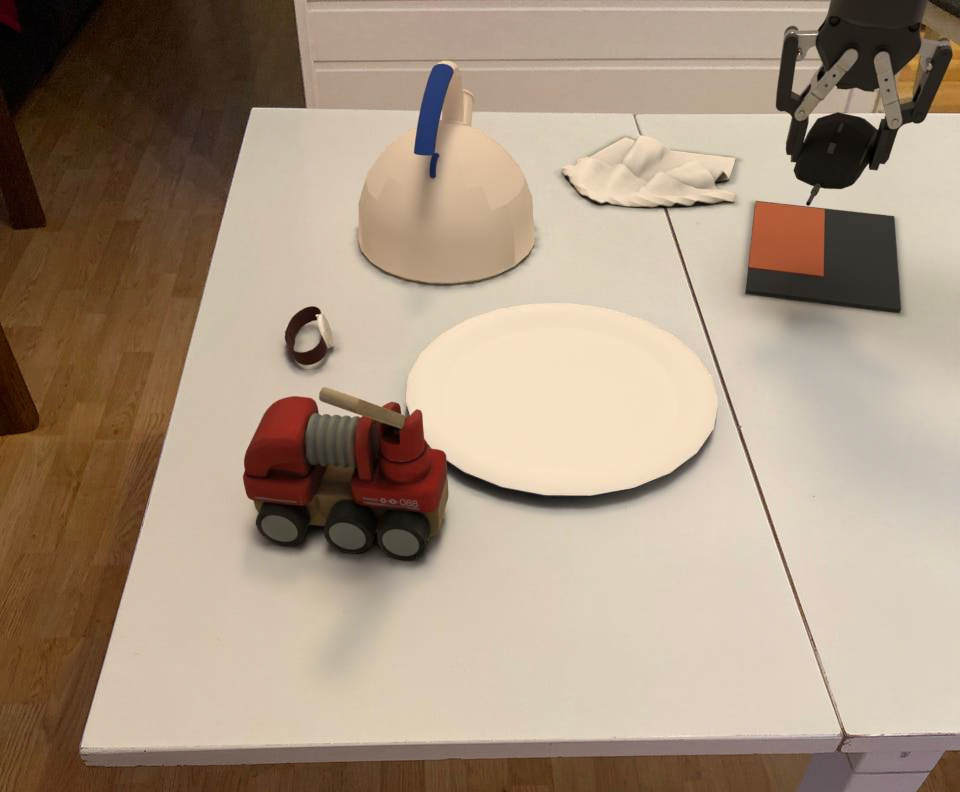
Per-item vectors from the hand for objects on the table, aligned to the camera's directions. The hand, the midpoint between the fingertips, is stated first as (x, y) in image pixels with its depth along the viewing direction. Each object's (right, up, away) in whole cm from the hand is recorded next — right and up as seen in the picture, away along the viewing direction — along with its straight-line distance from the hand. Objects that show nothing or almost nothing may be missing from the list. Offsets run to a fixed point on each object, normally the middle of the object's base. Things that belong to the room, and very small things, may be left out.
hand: (833, 162), depth 88 cm
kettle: (-36, +2, +22) cm, 43 cm away
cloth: (-10, +13, +31) cm, 35 cm away
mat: (+6, -1, +19) cm, 20 cm away
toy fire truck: (-43, -35, -8) cm, 56 cm away
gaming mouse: (0, -1, +1) cm, 1 cm away
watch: (-50, -15, +8) cm, 52 cm away
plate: (-25, -22, +3) cm, 33 cm away
